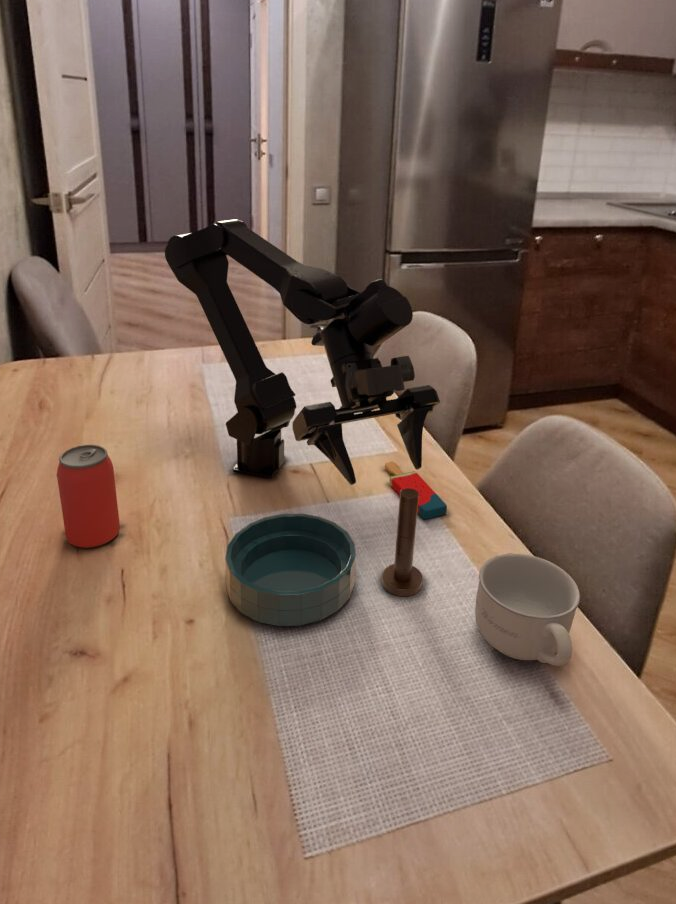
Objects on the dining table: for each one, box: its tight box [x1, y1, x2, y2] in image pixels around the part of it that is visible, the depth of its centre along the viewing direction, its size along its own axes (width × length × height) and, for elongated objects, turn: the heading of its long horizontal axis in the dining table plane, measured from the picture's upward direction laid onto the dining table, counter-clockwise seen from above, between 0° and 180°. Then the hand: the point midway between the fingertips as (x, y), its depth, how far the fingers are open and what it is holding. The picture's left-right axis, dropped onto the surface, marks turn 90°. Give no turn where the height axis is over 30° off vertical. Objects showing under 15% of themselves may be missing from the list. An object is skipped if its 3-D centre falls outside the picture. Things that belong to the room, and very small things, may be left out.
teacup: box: [474, 552, 581, 667], centre depth 72 cm, size 14×11×8 cm
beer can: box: [56, 444, 121, 549], centre depth 85 cm, size 7×7×12 cm
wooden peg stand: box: [381, 488, 423, 597], centre depth 80 cm, size 5×5×13 cm
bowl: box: [224, 513, 357, 627], centre depth 80 cm, size 15×15×5 cm
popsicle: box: [384, 461, 448, 520], centre depth 102 cm, size 5×2×15 cm
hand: (387, 476), depth 82 cm, fingers open, 9 cm apart
